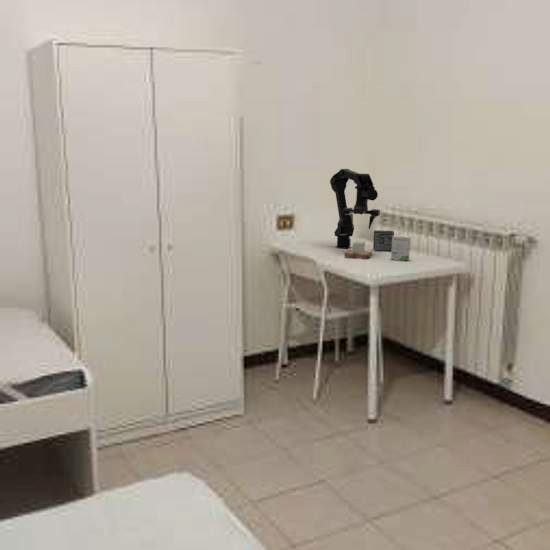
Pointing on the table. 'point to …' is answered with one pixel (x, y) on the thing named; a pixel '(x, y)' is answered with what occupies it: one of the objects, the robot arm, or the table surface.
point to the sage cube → (358, 247)
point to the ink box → (400, 248)
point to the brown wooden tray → (358, 254)
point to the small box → (383, 240)
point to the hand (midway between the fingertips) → (360, 228)
